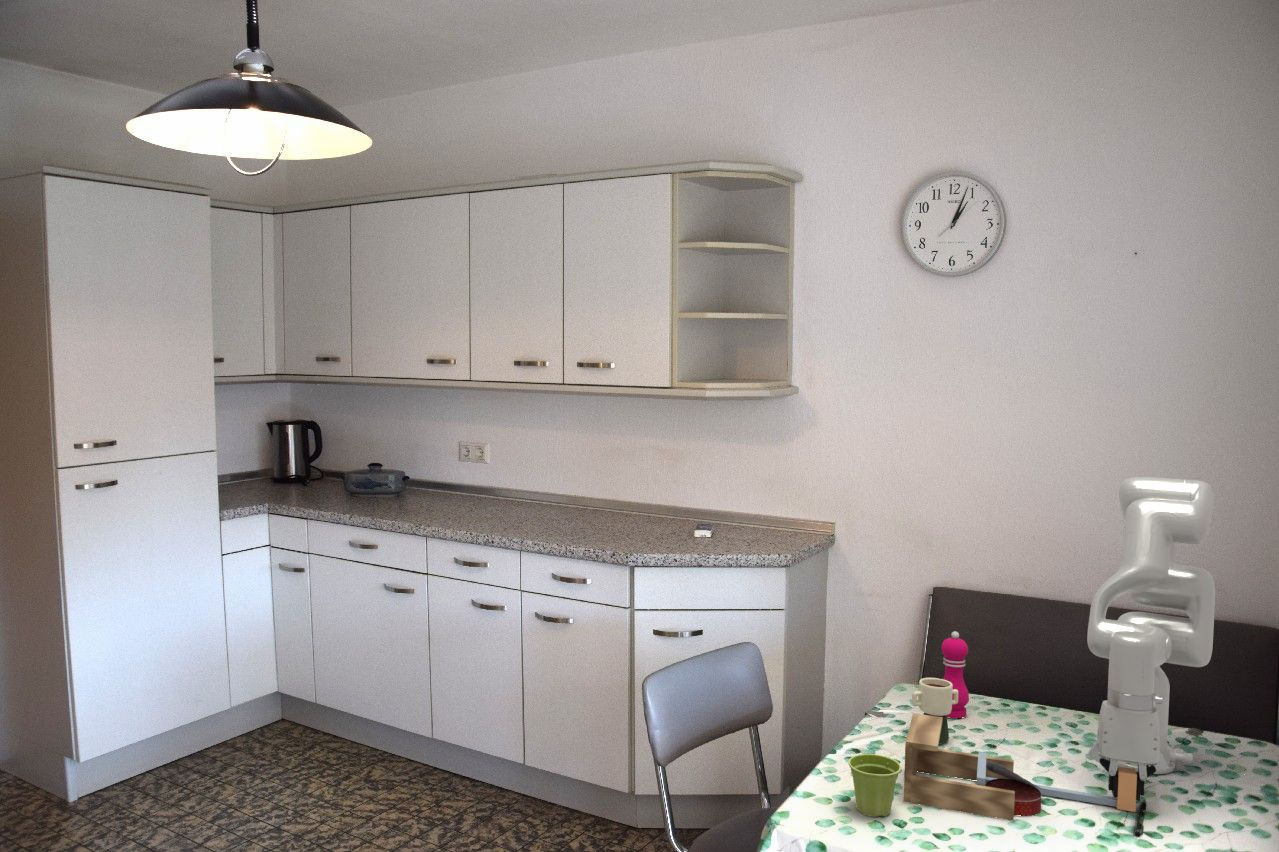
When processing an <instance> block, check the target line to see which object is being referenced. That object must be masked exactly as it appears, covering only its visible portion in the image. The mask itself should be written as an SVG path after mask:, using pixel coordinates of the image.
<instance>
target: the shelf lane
mask: <svg viewBox="0 0 1279 852" xmlns="http://www.w3.org/2000/svg"><path fill="white" fill-rule="evenodd" d="M942 722H943V717H937V716H930V715H923V713H915V712H914V713H912V717H911V720H910V723H909V727H908V730H907V731H908V732H907V735H906V739H905V744H904V745H905V747H904V748H905V749H904V751H905V752H904V774H903V775H904V777H903V801H902V802H904V803H907V802H908V803H909V804H914V805H919V804H920V805H921V806H926V807H930V808H931V807H932V808H937V809H942V810H948V811H949V810H950V811H954V812H959V811H961V812H960V813H965V812H966V813H965V814H971V813H973V814H972V815H977V814H979V815H978V816H982V815H984V816H983V817H988V816H990V817H989V818H994V817H997V818H996V819H1000V818H1003V819H1002V820H1005V819H1008V820H1007V821H1011V820H1013V821H1012V822H1014V821H1015V819H1014V818H1015V816H1014V799H1015V791H1011V790H1005V789H999V788H993V787H987V786H981V785H977V784H973V783H967V782H962V781H961V782H960V781H954V780H948V779H945V778H943V779H942V778H936V777H930V776H925V775H920V774H919V775H918V774H917V773H920V772H924V773H923V774H926V773H929V774H928V775H932V774H936V775H935V776H939V775H942V776H941V777H945V776H947V778H951V777H957V778H963V779H971V780H977V767H978V753H977V754H975V753H970V752H969V753H968V752H963V751H956V750H949V749H943V748H939V744H940V743H939V739H940V734H941V728H942ZM988 762H992V763H997V764H1000V765H1002V766H1004V767H1006V768H1008V769H1009V770H1011V771H1012V772H1014V770H1015V769H1014V767H1015V766H1014V764H1015V761H1014V759H1009V758H1003V757H998V756H997V757H996V756H989V755H987V756H986V764H987V763H988ZM917 771H918V772H917ZM948 776H949V777H948ZM986 777H992V778H998V779H1001V778H1003V779H1010V778H1007V777H1004V776H1002V775H999V774H996V773H994V772H992V771H990V770H988V769H987V768H986ZM957 778H956V779H957ZM963 779H962V780H963ZM908 803H907V804H908Z"/></svg>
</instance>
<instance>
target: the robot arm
mask: <svg viewBox="0 0 1279 852" xmlns="http://www.w3.org/2000/svg"><path fill="white" fill-rule="evenodd" d="M1118 499H1119V505H1120V509H1121V512H1122V517H1123V519H1124V526H1123V528H1124V529H1123V538H1122V546H1121V547H1122V548H1121V554H1120V555H1121V556H1120V566H1119V568H1118V571H1117V572H1116V573H1114V574H1113V575H1112V576H1110V577H1109V578H1108V579H1106V580H1105V581H1104V582H1103V584H1102V585H1101V586H1100V587H1099V588H1098V589H1097V591H1096V592H1095V594H1094V596H1093V599H1092V602H1091V605H1090V609H1089V610H1090V611H1089V618H1088V625H1087V634H1086V635H1087V638H1086V640H1087V641H1086V642H1087V647H1088V649H1089V651H1090V653H1092V654H1093V655H1095V656H1096V657H1099V658H1103V659H1108V677H1107V678H1108V679H1107V680H1108V681H1107V700H1102V703H1101V707H1100V711H1099V717H1098V723H1097V724H1098V725H1097V735H1096V740H1095V742H1094V743H1093V745H1091V747H1090V749H1089V751H1088V752H1087V753H1088V757H1089V758H1090V759H1092V760H1094V761H1096V762H1097V763H1099V764H1100V765H1101V766H1102V767H1103V768H1104V770H1106V772H1107V773H1108V784H1107V785H1108V791H1111V793H1112V797H1115V798H1117V797H1118V780H1119V778H1118V774H1117V766H1121V767H1127V768H1134V769H1135V770H1136V773H1137V786H1136V802H1141V796H1143V797H1144V796H1145V781H1147V780H1148V778H1149V777H1150V776H1152V775H1166V774H1169V773H1172V772H1173V771H1174V770H1175V767H1176V766H1175V765H1176V763H1175V762H1176V761H1177V762H1182V763H1187V764H1193V762H1194V755H1193V753H1190V752H1189V753H1188V752H1185V750H1184V749H1180V748H1172V747H1171V746H1170V745H1169V742H1168V731H1169V730H1168V728H1169V727H1168V726H1169V710H1170V709H1169V707H1170V688H1171V687H1170V686H1171V685H1170V681H1169V678H1168V677H1167V675H1166V673H1165V672H1164V670H1163V669H1162V668H1161V666H1162V665H1163V664H1164V663H1166V664H1167V663H1168V664H1173V665H1179V666H1186V667H1193V668H1202V667H1205V666H1207V665H1208V664H1209V663H1210V661H1211V658H1212V654H1213V644H1214V628H1215V627H1214V625H1215V606H1216V588H1215V587H1216V585H1215V581H1214V577H1213V575H1212V574H1211V572H1210V571H1209V570H1207V569H1205V568H1202V567H1200V566H1199V567H1198V566H1195V565H1194V566H1193V565H1192V566H1191V565H1184V564H1177V563H1176V549H1177V544H1185V545H1187V544H1189V545H1201V544H1203V543H1204V542H1205V541H1206V540H1207V538H1208V535H1209V532H1210V528H1211V523H1212V515H1213V511H1214V504H1215V503H1214V502H1215V495H1214V491H1213V488H1212V487H1211V485H1210V484H1209V483H1207V482H1206V481H1202V480H1198V479H1185V478H1184V479H1183V478H1171V477H1170V478H1168V477H1156V476H1154V477H1153V476H1135V477H1134V476H1133V477H1129V478H1125V479H1124V480H1122V482H1121V483H1120V485H1119V489H1118ZM1124 594H1127V595H1128V597H1129V599H1130V601H1131V602H1133V603H1134V604H1137V605H1138V606H1142V607H1149V608H1154V609H1160V610H1169V611H1174V612H1175V611H1176V612H1183V613H1185V614H1187V617H1188V618H1187V617H1180V616H1173V615H1167V614H1159V613H1152V612H1147V611H1146V612H1145V611H1129V612H1126V613H1123V614H1121V615H1120V616H1119V617H1118V619H1117V620H1116V619H1108V618H1106V617H1107V611H1108V608H1109V607H1110V604H1111V603H1112V602H1113V601H1114V600H1116V599H1117V598H1118V597H1121V596H1122V595H1124Z"/></svg>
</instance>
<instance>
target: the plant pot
mask: <svg viewBox="0 0 1279 852" xmlns="http://www.w3.org/2000/svg"><path fill="white" fill-rule="evenodd" d="M847 762H848V766H849V768H850V772H851V774H852V781H853V787H854V789H853V790H854V796H855V797H854V799H855V804H856V805H855V806H856V809H857V810H858V811H859V813H860V814H862V815H864V814H865V816H869V817H872V818H877V817H880V816H883V817H886V816H888V815H890V814H891V812H892V805H893V799H894V793H895V789H896V783H897V779H898V778H899V774H900V772H901V771H902V765H901V763H900V762H899V761H897V760H896V759H894V758H891V757H888V756H886V755H880V754H875V753H872V754H871V753H863V754H862V753H861V754H857V755H854V756H851V757H850V758H849V759H848V761H847Z"/></svg>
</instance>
